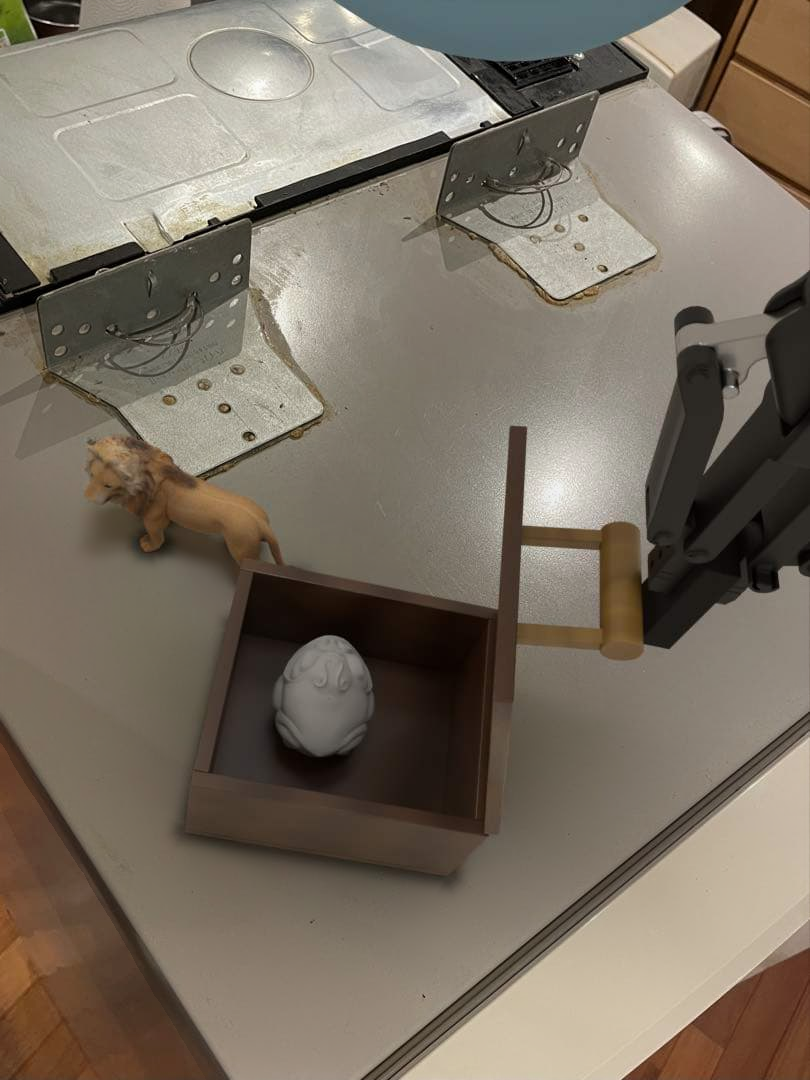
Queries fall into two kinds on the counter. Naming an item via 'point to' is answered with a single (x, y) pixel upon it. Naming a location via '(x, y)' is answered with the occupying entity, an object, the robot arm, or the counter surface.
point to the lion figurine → (173, 497)
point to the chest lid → (612, 638)
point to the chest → (392, 734)
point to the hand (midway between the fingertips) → (652, 619)
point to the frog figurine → (323, 698)
